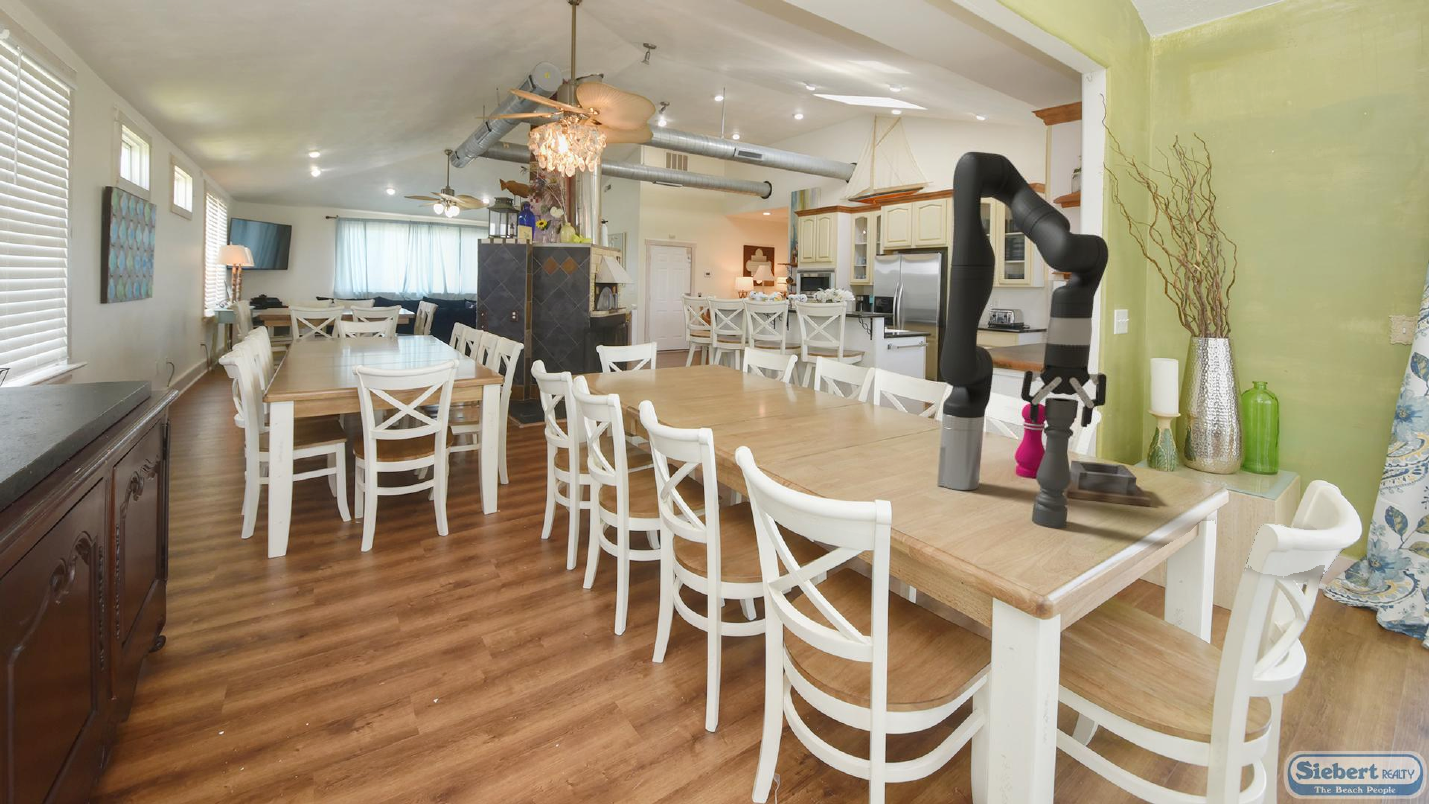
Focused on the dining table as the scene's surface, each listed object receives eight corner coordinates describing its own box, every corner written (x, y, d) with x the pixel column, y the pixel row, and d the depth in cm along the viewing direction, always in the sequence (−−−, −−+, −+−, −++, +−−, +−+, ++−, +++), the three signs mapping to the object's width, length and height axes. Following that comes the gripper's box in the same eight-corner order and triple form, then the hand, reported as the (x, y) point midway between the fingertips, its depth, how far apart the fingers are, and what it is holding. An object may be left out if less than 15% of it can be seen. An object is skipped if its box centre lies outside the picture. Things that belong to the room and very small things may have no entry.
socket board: (1066, 497, 143) (1069, 474, 142) (1056, 478, 157) (1058, 456, 156) (1149, 506, 137) (1153, 482, 136) (1130, 485, 152) (1133, 463, 151)
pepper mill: (1048, 479, 156) (1057, 400, 153) (1017, 477, 158) (1024, 398, 154) (1040, 471, 163) (1047, 395, 160) (1010, 469, 165) (1017, 394, 161)
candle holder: (1025, 517, 130) (1037, 397, 126) (1054, 516, 130) (1066, 397, 126) (1043, 528, 124) (1056, 402, 119) (1073, 527, 124) (1087, 402, 120)
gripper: (1028, 341, 120) (1020, 425, 123) (1115, 344, 115) (1105, 431, 118) (1024, 339, 127) (1017, 418, 129) (1106, 341, 122) (1096, 423, 125)
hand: (1059, 424), depth 124 cm, fingers open, 8 cm apart
